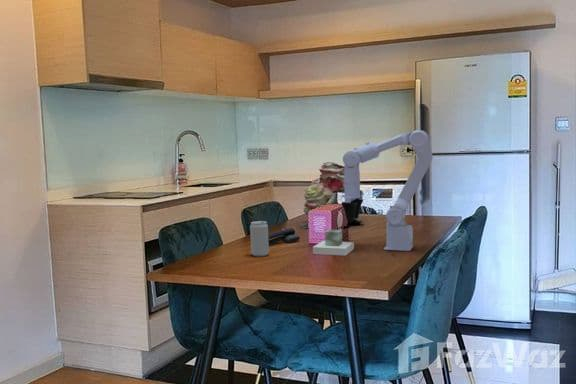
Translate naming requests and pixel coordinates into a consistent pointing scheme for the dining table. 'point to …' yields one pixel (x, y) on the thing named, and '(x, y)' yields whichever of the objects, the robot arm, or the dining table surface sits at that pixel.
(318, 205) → the rose bouquet
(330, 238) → the green cube
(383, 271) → the dining table surface
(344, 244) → the stacking base
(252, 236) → the beverage can
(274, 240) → the can opener
